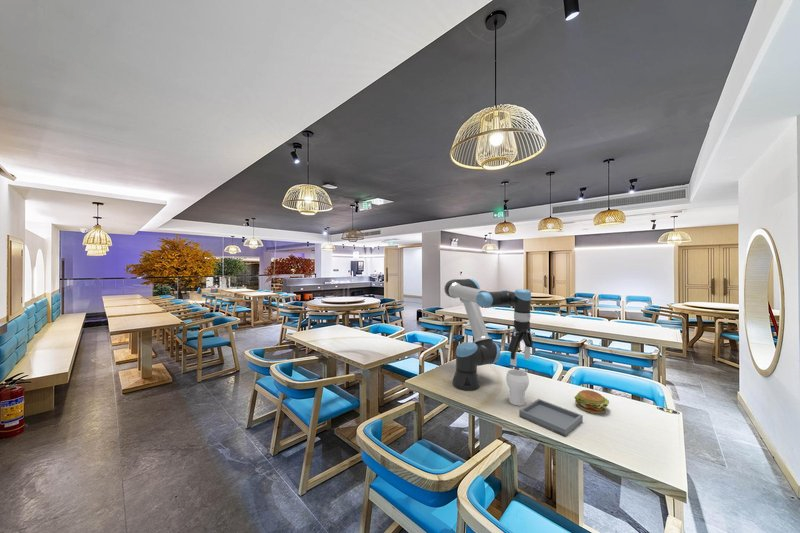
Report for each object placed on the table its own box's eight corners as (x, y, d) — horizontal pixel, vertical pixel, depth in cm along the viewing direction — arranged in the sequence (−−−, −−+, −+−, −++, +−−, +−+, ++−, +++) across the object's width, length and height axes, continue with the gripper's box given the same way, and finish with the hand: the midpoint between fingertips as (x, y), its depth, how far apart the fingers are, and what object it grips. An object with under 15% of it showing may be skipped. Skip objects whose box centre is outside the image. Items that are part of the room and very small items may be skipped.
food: (596, 418, 137) (596, 401, 137) (568, 404, 150) (569, 388, 150) (616, 413, 142) (616, 396, 142) (587, 399, 155) (588, 384, 155)
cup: (530, 408, 146) (531, 377, 145) (507, 406, 148) (508, 376, 148) (525, 398, 156) (526, 369, 156) (504, 396, 158) (505, 368, 158)
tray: (519, 416, 138) (519, 410, 138) (538, 404, 150) (538, 398, 150) (565, 436, 123) (565, 429, 123) (582, 421, 134) (582, 415, 134)
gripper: (516, 325, 139) (514, 370, 140) (540, 318, 156) (539, 358, 157) (501, 322, 145) (500, 365, 146) (526, 315, 161) (525, 354, 162)
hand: (520, 362), depth 151 cm, fingers open, 13 cm apart
